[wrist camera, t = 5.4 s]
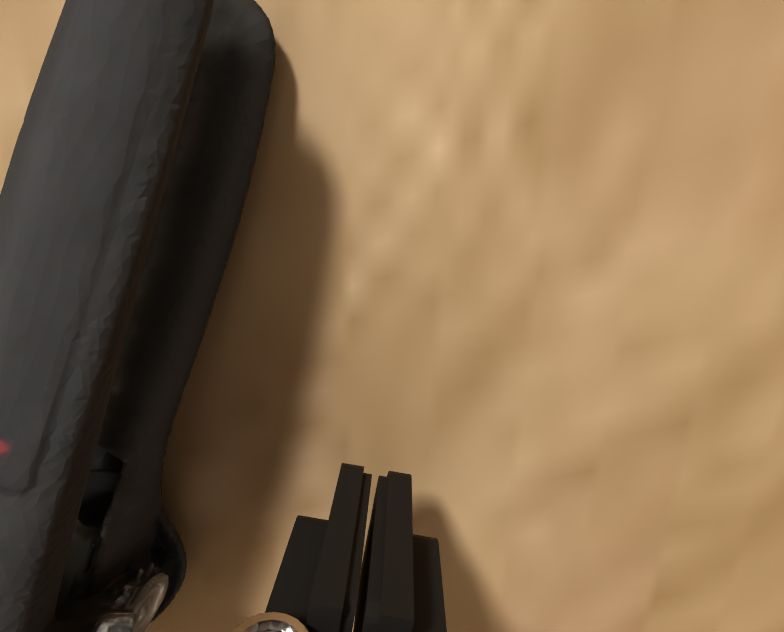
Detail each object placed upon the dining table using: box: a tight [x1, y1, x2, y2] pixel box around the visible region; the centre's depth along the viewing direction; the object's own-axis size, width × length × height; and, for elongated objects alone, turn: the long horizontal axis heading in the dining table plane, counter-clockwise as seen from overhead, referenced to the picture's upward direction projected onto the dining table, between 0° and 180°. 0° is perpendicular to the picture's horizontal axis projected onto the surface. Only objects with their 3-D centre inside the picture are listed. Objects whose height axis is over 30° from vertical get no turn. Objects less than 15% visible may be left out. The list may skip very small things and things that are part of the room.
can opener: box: [0, 0, 275, 632], centre depth 10 cm, size 18×7×6 cm, turn 156°
